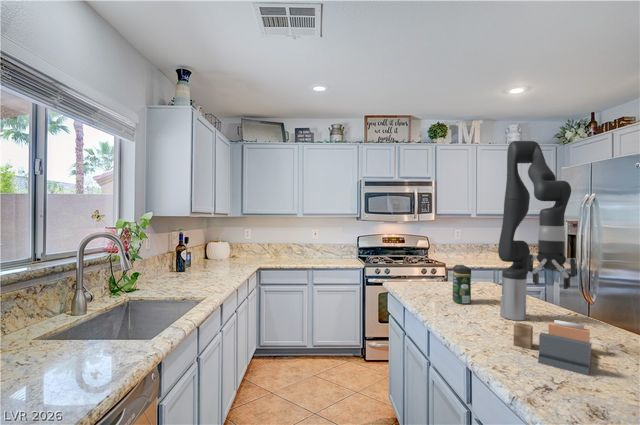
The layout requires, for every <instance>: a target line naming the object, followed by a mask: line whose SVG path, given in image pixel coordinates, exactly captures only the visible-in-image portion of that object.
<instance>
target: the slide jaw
mask: <svg viewBox="0 0 640 425" xmlns="http://www.w3.org/2000/svg"><path fill="white" fill-rule="evenodd" d="M590 333H591V330H590V329H589V328H585V325H584V324H580V323H575V322H571V321H570V322H569V321H563V320H558V319H554V321H553V322H551V321H549V322H548V333H547V334H551V335H556V336H561V337H566V338H570V339H575V340H580V341H585V342H590V336H591V335H590Z"/></svg>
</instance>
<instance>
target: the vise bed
mask: <svg viewBox="0 0 640 425" xmlns="http://www.w3.org/2000/svg"><path fill="white" fill-rule="evenodd" d="M538 336H539V339H538V340H539V342H538V344H539V345H538V358H537V363H538V364H542V365H545V366H546V365H547V366H550V367H553V368H558V369H562V370H565V371H570V372H574V373H576V374H577V373H578V374H582V375H585V376H589V374H590V365H591V358H592V357H591V356H592V343H591V342H590V341H589V342H585V341H580V340H575V339H570V338H566V337H561V336H556V335H551V334H548V333H545V332H540V333H539V335H538Z"/></svg>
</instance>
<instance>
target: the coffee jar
mask: <svg viewBox="0 0 640 425" xmlns="http://www.w3.org/2000/svg"><path fill="white" fill-rule="evenodd" d="M471 282H472V269H471V268H470V267H468V266H467V265H464V264H455V265H454V266H453V267H452V300H453V302H455V303H456V304H461V305H468V304H471V303H472V293H471V292H472V288H471V287H472V283H471Z"/></svg>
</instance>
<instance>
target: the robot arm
mask: <svg viewBox="0 0 640 425" xmlns="http://www.w3.org/2000/svg"><path fill="white" fill-rule="evenodd" d="M518 164H530V165H529V167H528V169H527V175H528V178H529V180H530V182H532V184H533V185H532V186H533V196H534V198H535V199H536V200H537V201H539V202H554V205H553V206H551V207H548V208H541V209H540V211H539V226H538V227H539V229H538V238H537V239H538V245H537V246H538V247H537V248H538V249H537V250H538V251H537V255H536V254H533V253H532V254H531V252H530V247H529V244H528V243H527V242H526V241H525V240H516V239H515V234H516V231H517V229H518V227H519V226H520V225H521V223H522V222H523V221H524V219H525V218H526V216H527V214H528V212H529V210H530V209H529V208H530V199H531V196H530V192H529V190H528V188H527V187H526V185H525V184H524V183H525V182H523V180H522V178H521V176H520V174H519V168H518V167H519V166H518ZM556 179H557V178H556V175H555V173H554V172H553V171H552V170H551V168H550V167H549V166H548V164H547V162H546V158H545V156H544V152H543V150H542V147H541V146H540V144H539V143H538V142H537V141H534V140H512V141H511V142H510V143H509V145H508V147H507V154H506V184H505V192H504V193H505V194H504V202H503V215H502V225H501V231H500V236H499V240H498V247H497V248H498V249H497V251H498V252H497V253H498V257H499V259H500V260H501V261H502V262H506V263H512V264H511V265H510V266H509V267H507V268H504V269H503V270H502V273H501V275H502V276H501V279H502V280H501V293H500V298H499V299H500V306H499V307H500V309H499V313H500V315H499V317H501V318H505V319H508V320H512V321H525V320H526V319H527V277H528V273H529V272H530V273H532V283H533V284H534V285H535V286H538V285H539V284H540V274H539V272H540V271H542V269H545V270H549V269H550V270H555V271H556V270H558V271H559V272H560V273H561V274H562V276H563V289H564V290H568V289H570V287H571V278H575V277H577V276H578V262H577V261H578V260H577V258H575V257H571V258H569V257H566V230H565V213H566V210H567V206H568V202H569V200H570V197H571V195H572V186H571V185H570V183H569V182H568V181H567V180H556ZM536 259H537V261H538V264H537V265H536V266H535V268H534V262H535V261H536ZM566 262H567V264H568V265H569V266H570V272H569V271H568V270H567V268H566V267H565V266H564V264H565V263H566Z"/></svg>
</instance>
